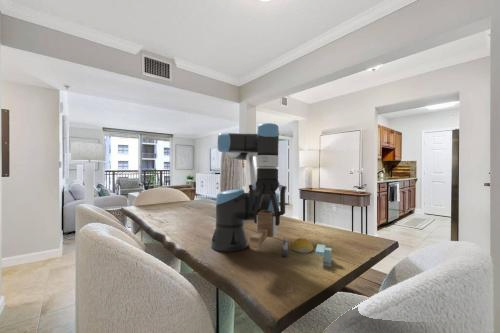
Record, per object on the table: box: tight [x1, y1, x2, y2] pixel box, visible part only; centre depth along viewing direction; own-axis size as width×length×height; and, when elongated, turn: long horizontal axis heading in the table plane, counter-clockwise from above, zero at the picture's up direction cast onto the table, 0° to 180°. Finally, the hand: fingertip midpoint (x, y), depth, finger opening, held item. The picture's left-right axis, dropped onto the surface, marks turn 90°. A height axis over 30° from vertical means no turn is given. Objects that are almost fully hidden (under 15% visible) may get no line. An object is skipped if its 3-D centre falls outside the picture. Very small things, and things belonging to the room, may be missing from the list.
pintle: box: [281, 237, 289, 258], centre depth 84 cm, size 2×2×6 cm
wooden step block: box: [249, 210, 275, 247], centre depth 75 cm, size 15×5×8 cm, turn 159°
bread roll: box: [291, 237, 314, 254], centre depth 91 cm, size 8×9×4 cm
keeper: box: [314, 243, 332, 268], centre depth 79 cm, size 5×8×5 cm, turn 159°
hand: (266, 233), depth 79 cm, fingers closed on wooden step block, 5 cm apart
